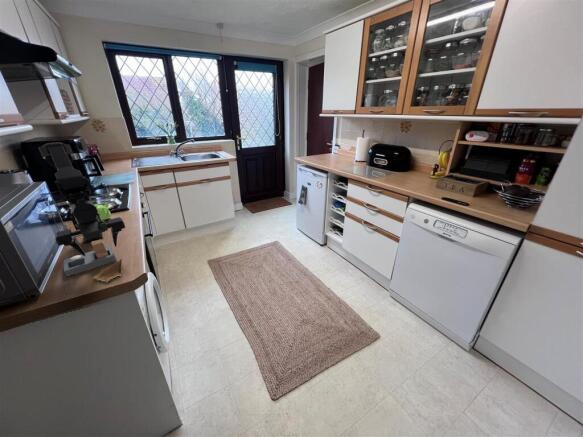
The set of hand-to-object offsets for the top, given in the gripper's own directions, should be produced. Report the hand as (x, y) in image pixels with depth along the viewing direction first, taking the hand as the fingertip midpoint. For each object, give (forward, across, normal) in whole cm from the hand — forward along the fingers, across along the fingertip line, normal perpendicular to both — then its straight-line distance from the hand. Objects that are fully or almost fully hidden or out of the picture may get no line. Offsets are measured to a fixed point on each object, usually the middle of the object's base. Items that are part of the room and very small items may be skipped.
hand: (100, 250), depth 87 cm
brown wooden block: (+4, 0, 0) cm, 4 cm away
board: (+4, -4, +1) cm, 6 cm away
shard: (+5, 0, -10) cm, 11 cm away
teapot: (+5, +2, +45) cm, 45 cm away
